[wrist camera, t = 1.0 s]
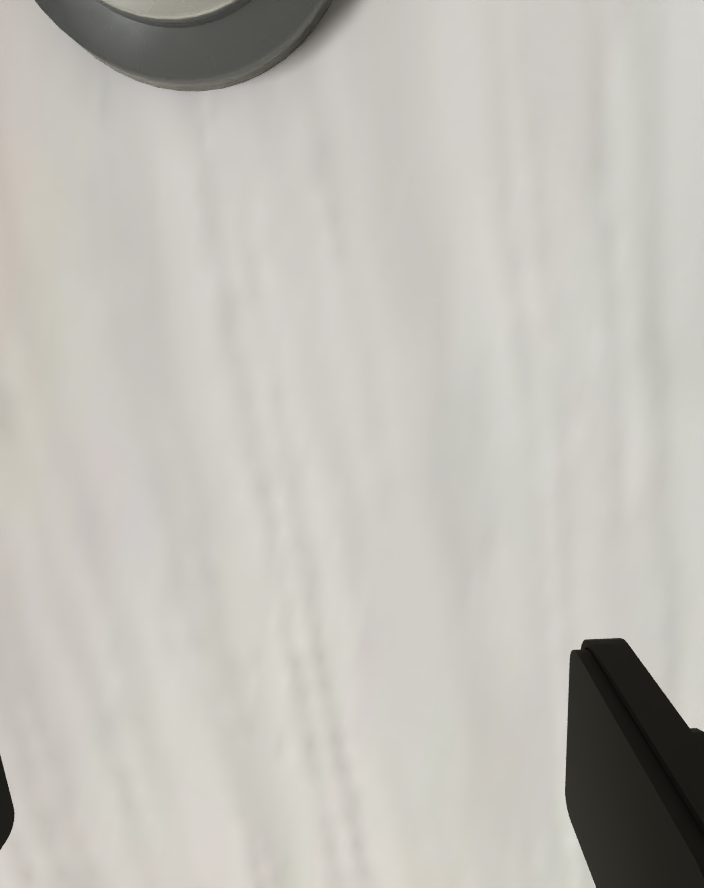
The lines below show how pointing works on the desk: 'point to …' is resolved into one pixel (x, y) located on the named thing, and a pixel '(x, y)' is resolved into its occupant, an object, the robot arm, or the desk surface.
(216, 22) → the dial base
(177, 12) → the dial
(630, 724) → the robot arm
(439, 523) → the desk surface
